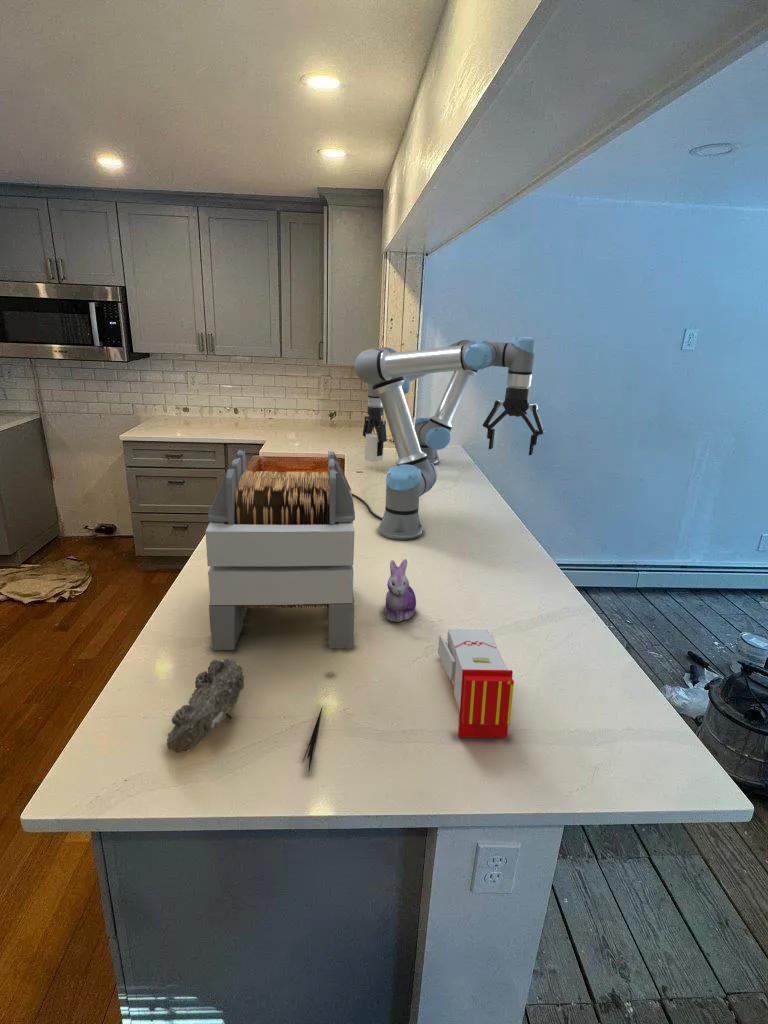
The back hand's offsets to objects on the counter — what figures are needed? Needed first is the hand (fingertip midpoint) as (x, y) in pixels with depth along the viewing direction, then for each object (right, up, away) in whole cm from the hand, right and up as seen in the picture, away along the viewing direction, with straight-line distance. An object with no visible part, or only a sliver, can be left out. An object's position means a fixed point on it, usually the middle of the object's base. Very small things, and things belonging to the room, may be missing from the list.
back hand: (373, 453), depth 274 cm
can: (0, -3, +1) cm, 3 cm away
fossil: (-28, -67, -165) cm, 181 cm away
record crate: (-20, -54, -128) cm, 141 cm away
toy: (+23, -66, -155) cm, 170 cm away
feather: (-8, -68, -165) cm, 179 cm away
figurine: (+9, -55, -126) cm, 138 cm away
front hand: (+47, -8, -84) cm, 96 cm away
